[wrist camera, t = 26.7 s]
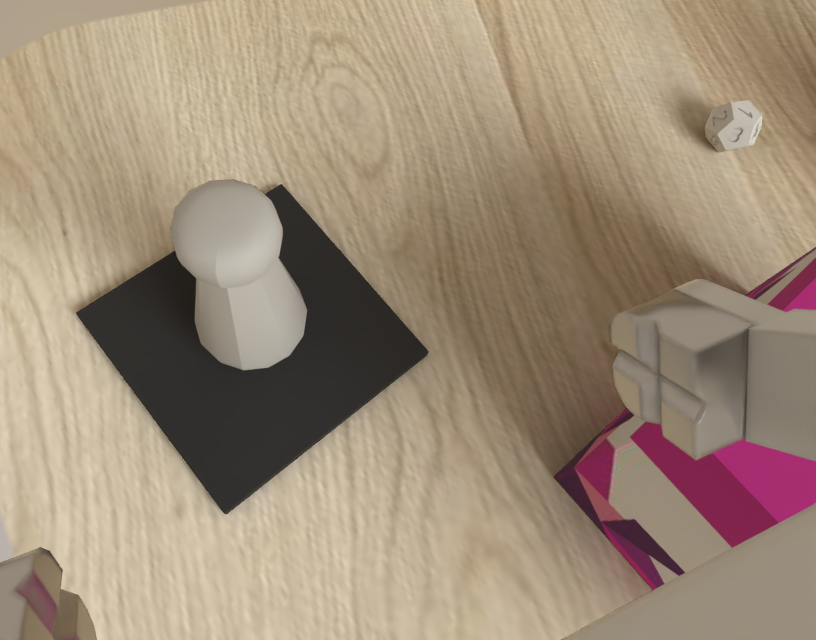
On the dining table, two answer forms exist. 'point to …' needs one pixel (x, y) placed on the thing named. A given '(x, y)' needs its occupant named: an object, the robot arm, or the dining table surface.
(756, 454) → the decorative box
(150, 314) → the black square mat
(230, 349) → the salt shaker
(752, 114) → the game die
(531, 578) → the dining table surface
